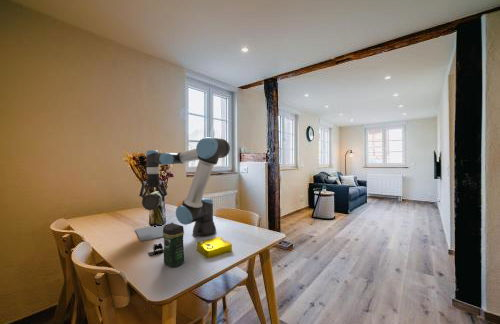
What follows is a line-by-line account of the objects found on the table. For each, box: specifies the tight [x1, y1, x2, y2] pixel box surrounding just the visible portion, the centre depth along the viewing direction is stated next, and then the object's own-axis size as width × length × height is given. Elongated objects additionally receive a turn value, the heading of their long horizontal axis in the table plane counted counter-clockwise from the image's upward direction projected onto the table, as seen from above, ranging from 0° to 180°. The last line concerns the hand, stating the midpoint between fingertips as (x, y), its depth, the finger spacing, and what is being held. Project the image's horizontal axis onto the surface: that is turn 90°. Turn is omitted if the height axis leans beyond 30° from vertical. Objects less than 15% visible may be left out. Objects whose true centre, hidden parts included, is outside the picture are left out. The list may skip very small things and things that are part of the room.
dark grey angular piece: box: [147, 242, 164, 257], centre depth 117 cm, size 12×7×5 cm, turn 122°
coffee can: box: [141, 190, 165, 211], centre depth 148 cm, size 10×10×14 cm
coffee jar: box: [163, 222, 185, 268], centre depth 105 cm, size 10×8×19 cm
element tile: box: [196, 236, 233, 259], centre depth 119 cm, size 15×15×5 cm
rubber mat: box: [134, 223, 167, 243], centre depth 148 cm, size 26×20×1 cm
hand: (153, 206), depth 148 cm, fingers closed on coffee can, 10 cm apart
